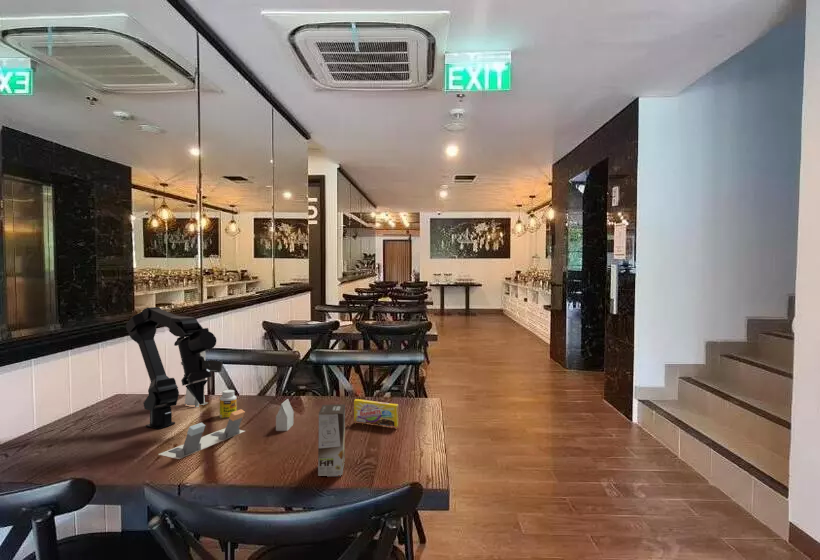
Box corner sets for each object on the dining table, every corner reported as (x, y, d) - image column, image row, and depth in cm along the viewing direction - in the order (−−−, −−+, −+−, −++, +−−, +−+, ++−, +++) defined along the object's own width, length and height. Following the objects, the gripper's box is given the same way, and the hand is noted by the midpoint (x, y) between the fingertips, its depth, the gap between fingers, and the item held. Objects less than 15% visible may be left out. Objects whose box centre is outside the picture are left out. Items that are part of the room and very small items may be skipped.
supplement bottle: (221, 423, 160) (221, 393, 160) (218, 419, 164) (218, 390, 164) (238, 420, 163) (238, 391, 163) (234, 416, 168) (234, 388, 167)
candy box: (353, 423, 161) (353, 400, 161) (356, 422, 163) (356, 398, 163) (396, 430, 155) (396, 405, 155) (398, 428, 157) (399, 403, 157)
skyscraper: (178, 407, 180) (178, 334, 180) (191, 401, 188) (191, 332, 188) (197, 408, 179) (198, 335, 179) (210, 402, 187) (210, 333, 186)
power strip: (157, 459, 128) (157, 447, 128) (226, 432, 151) (226, 422, 151) (179, 464, 125) (179, 452, 125) (245, 435, 148) (245, 425, 148)
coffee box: (343, 476, 118) (343, 413, 118) (317, 477, 118) (318, 414, 118) (345, 462, 127) (345, 403, 127) (321, 462, 127) (321, 404, 127)
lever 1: (180, 452, 127) (189, 426, 126) (193, 447, 131) (201, 422, 130) (184, 455, 127) (193, 429, 125) (197, 450, 130) (205, 425, 129)
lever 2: (222, 435, 141) (231, 412, 140) (232, 431, 145) (241, 409, 143) (226, 438, 140) (235, 415, 139) (236, 434, 144) (245, 411, 143)
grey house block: (293, 428, 155) (293, 398, 155) (287, 435, 148) (287, 404, 148) (282, 428, 155) (282, 398, 155) (275, 435, 148) (276, 404, 148)
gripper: (222, 346, 146) (234, 395, 144) (211, 353, 161) (222, 397, 159) (184, 355, 139) (195, 406, 138) (176, 361, 155) (187, 407, 153)
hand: (201, 404), depth 147 cm, fingers closed
